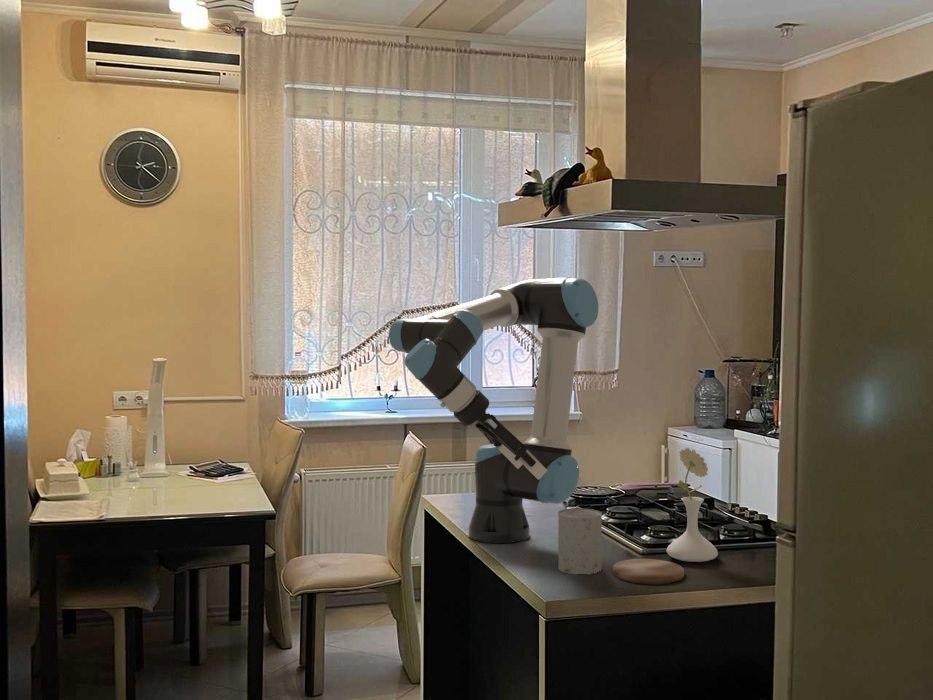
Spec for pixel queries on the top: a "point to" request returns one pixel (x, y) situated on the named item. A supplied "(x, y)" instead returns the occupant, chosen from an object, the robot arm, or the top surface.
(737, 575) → the top surface
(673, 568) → the walnut board
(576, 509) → the white speckled cylinder
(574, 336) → the robot arm
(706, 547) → the flower in vase
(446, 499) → the top surface
